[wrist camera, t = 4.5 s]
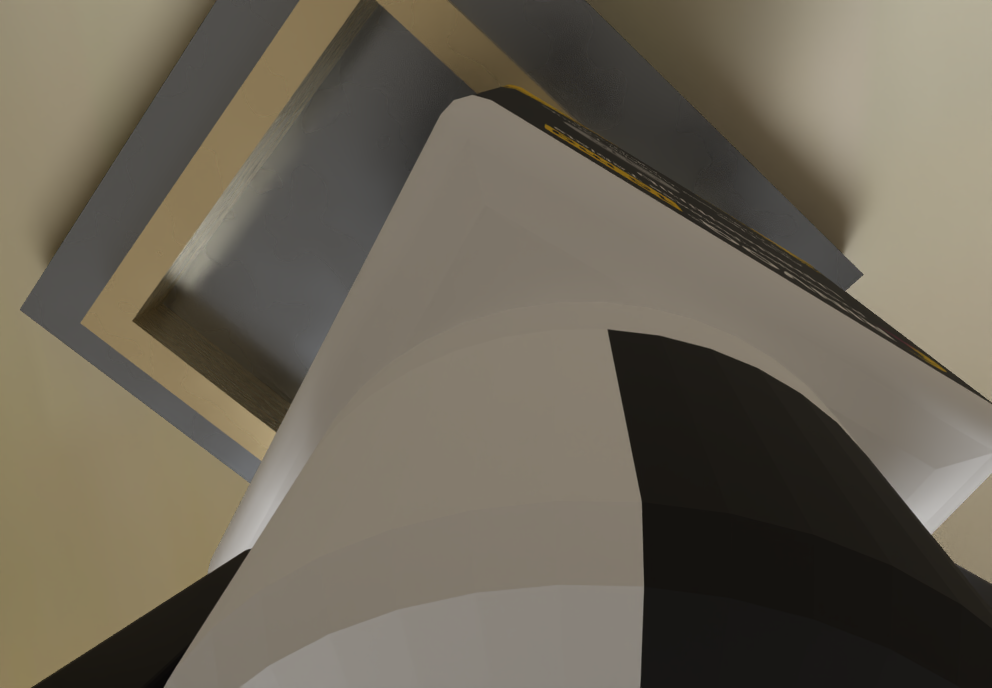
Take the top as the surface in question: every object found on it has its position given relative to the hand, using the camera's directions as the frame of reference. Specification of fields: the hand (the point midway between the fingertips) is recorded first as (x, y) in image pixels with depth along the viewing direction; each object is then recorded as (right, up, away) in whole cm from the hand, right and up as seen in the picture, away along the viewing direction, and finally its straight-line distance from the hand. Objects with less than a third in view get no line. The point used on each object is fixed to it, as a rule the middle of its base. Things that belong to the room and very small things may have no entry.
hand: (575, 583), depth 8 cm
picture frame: (-3, +4, +13) cm, 14 cm away
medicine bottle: (+1, +3, +8) cm, 8 cm away
